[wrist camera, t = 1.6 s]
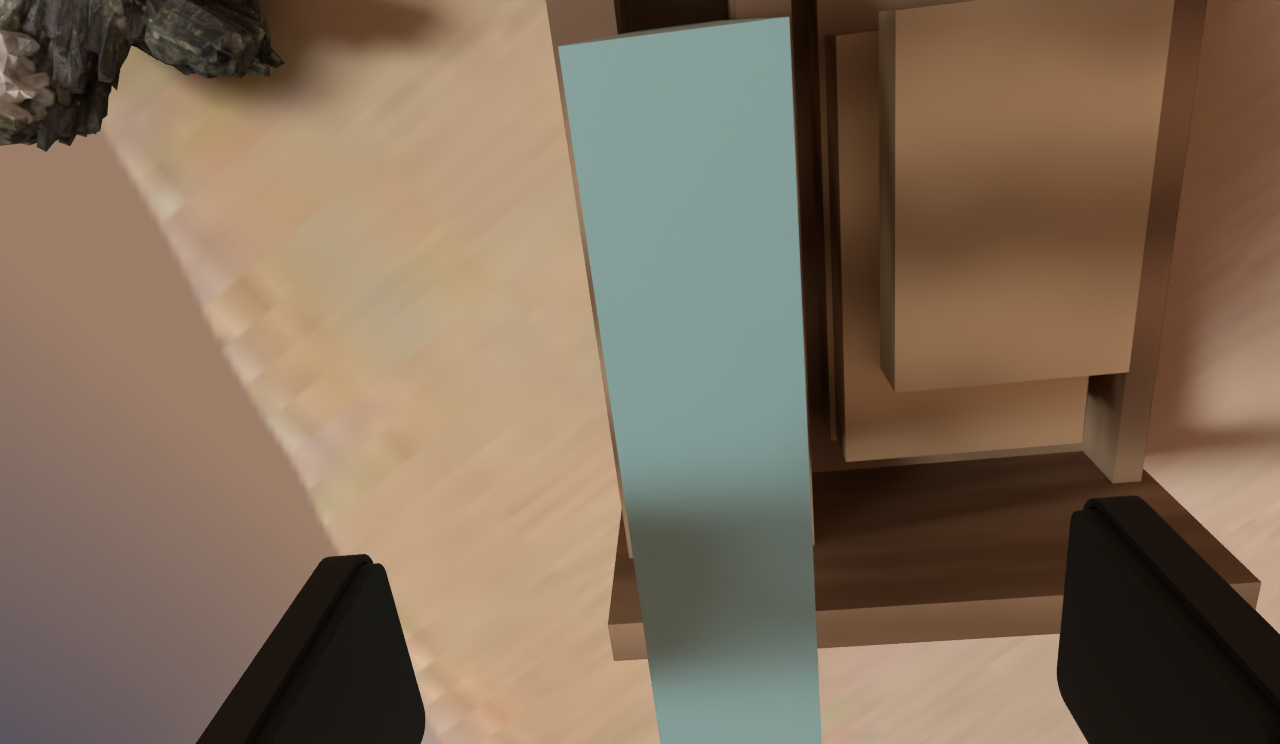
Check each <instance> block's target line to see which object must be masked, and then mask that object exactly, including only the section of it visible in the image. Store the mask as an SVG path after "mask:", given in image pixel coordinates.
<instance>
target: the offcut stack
mask: <svg viewBox="0 0 1280 744" xmlns="http://www.w3.org/2000/svg"><path fill="white" fill-rule="evenodd" d="M1174 1H1175V0H807V3H808V30H809V58H810V86H811V114H812V141H813V169H814V197H815V225H816V252H817V280H818V308H819V335H820V363H821V391H822V417H823V420H824V423H825V426H826V428H827V431H828V434H829V437H830V439H831V441H835V440H838V442H839V444H840V447H841V450H842V452H843V455H844V457H845V460H846V462H852V461H865V460H877V459H890V458H902V457H914V456H927V455H939V454H951V453H964V452H976V451H988V450H1001V449H1013V448H1026V447H1038V446H1050V445H1063V444H1075V443H1082V437H1083V427H1084V418H1085V408H1086V398H1087V388H1088V379H1089V376H1092V375H1103V374H1115V373H1126V372H1129V366H1130V358H1131V350H1132V342H1133V334H1134V326H1135V318H1136V309H1137V301H1138V293H1139V285H1140V277H1141V269H1142V261H1143V253H1144V244H1145V236H1146V228H1147V220H1148V212H1149V204H1150V196H1151V188H1152V179H1153V171H1154V163H1155V155H1156V147H1157V139H1158V131H1159V123H1160V114H1161V106H1162V98H1163V90H1164V82H1165V74H1166V66H1167V58H1168V49H1169V41H1170V33H1171V25H1172V17H1173V9H1174Z"/></svg>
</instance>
